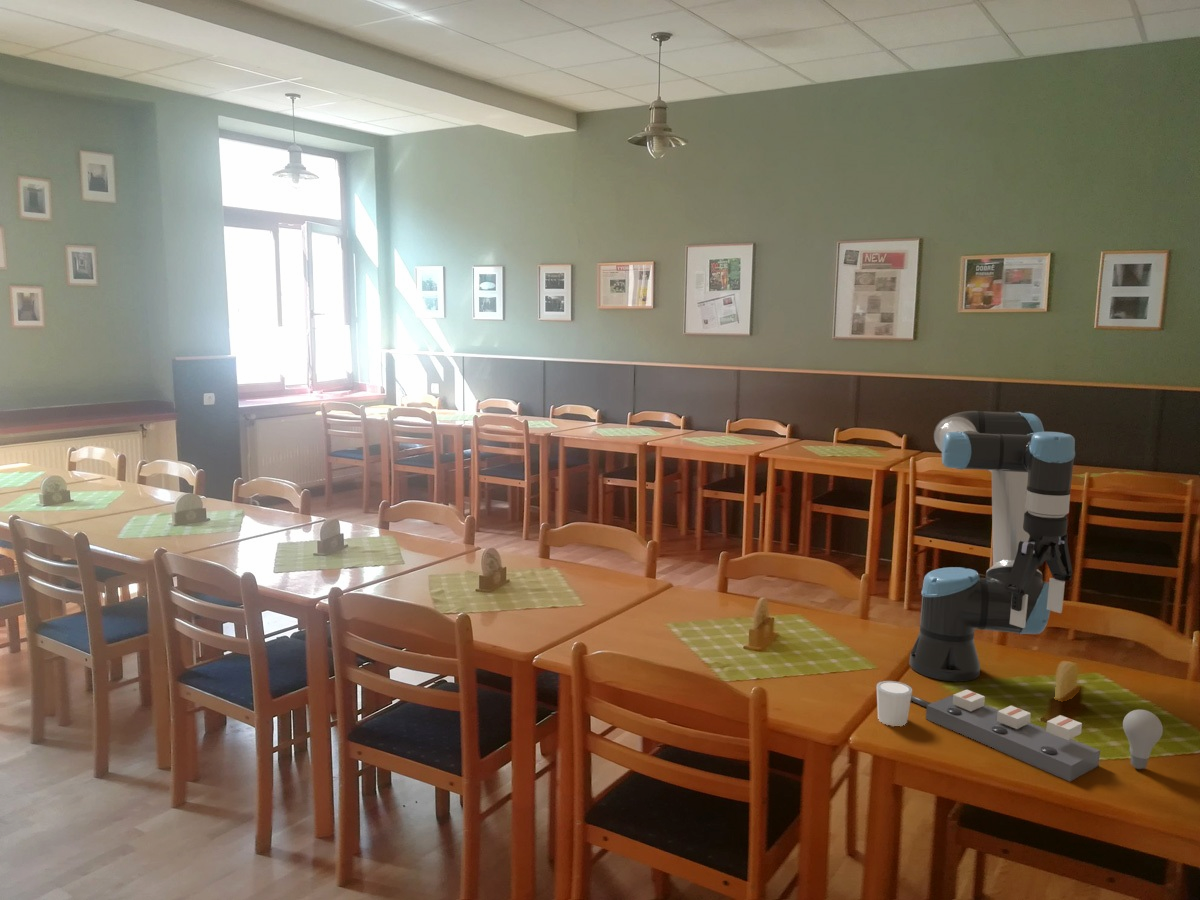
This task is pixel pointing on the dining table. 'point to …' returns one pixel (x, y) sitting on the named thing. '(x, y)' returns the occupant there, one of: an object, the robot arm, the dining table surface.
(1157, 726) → the lightbulb
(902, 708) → the white cup
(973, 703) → the cord end switch
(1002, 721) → the middle switch
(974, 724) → the power strip
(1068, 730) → the far end switch
